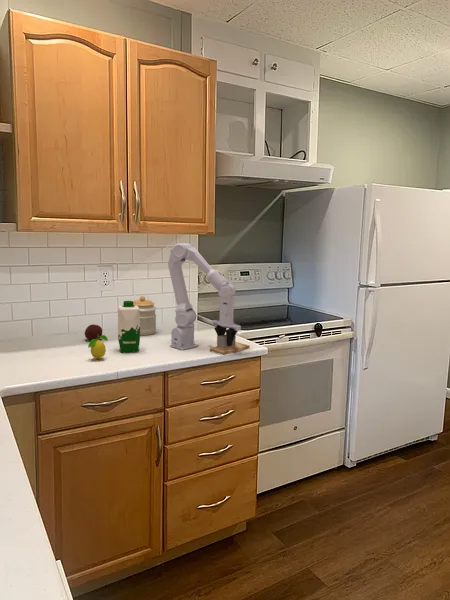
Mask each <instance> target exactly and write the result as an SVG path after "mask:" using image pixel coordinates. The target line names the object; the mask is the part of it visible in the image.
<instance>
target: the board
mask: <svg viewBox="0 0 450 600" xmlns="http://www.w3.org/2000/svg"><path fill="white" fill-rule="evenodd" d="M250 346H251V345H249V344H245V343H242V342H238V341H235V347H234V348H230V349H226V350H222V349H218V348H217V346H214V347H210V348H209V352H212V353H216V354H219V355H224V356H225V355H228V354H233V353H236V352H240V351H243V350H244V349H245V350H249V349H250V348H251V347H250ZM248 348H249V349H248ZM245 350H244V351H245Z"/></svg>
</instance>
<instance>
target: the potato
mask: <svg viewBox="0 0 450 600" xmlns="http://www.w3.org/2000/svg"><path fill="white" fill-rule="evenodd" d="M101 335H103V328H102V327H101V325H98V324H94V323H93V324H90V325H88V326H87V327H86V329H85V331H84V336H85V339H87V340H89V341H91V340H92V339H97V340H100V339H101V338H100V337H99V336H101Z"/></svg>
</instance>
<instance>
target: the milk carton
mask: <svg viewBox="0 0 450 600" xmlns="http://www.w3.org/2000/svg"><path fill="white" fill-rule="evenodd" d="M133 301H134V300H123V305H118V311H117V340H118V345H119V350H120V353H121V354H124V353H126V354H127V353H139V350H140V343H141V335H140V311H139V307H138V306H134V304H133Z"/></svg>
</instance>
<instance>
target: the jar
mask: <svg viewBox="0 0 450 600" xmlns="http://www.w3.org/2000/svg"><path fill="white" fill-rule="evenodd" d="M132 301H133V304H134V306H138V307H139V311H140V336H149V335H151V336H152V335H154V334H156V332H157V314H156V310H157V307H156V306H155V302H153V301H152V300H150V299H146V297H145V296H144V295H143V296H140V297H139V299H135V300H132Z"/></svg>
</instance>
